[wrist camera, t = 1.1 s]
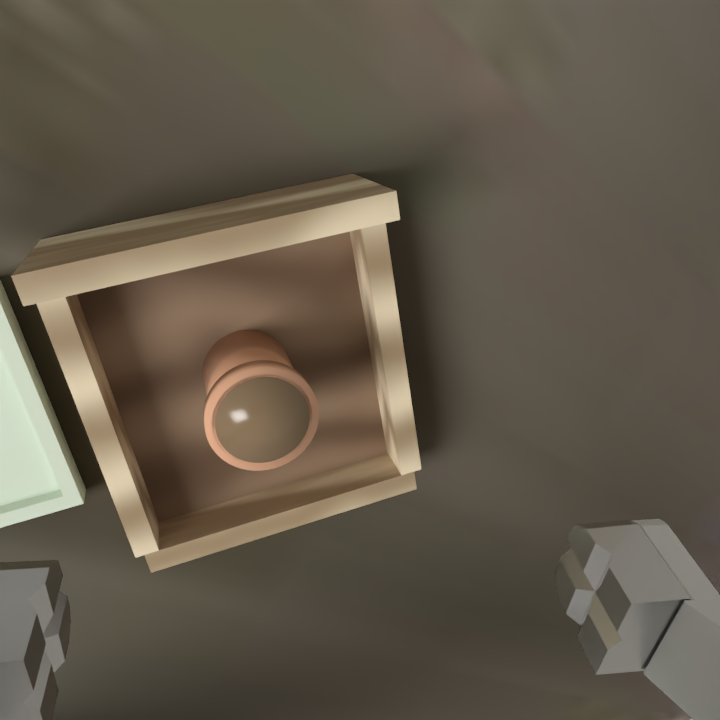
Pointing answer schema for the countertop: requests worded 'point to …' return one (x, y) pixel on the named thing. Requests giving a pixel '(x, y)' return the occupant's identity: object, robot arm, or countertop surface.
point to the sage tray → (30, 435)
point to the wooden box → (207, 326)
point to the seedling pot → (256, 402)
